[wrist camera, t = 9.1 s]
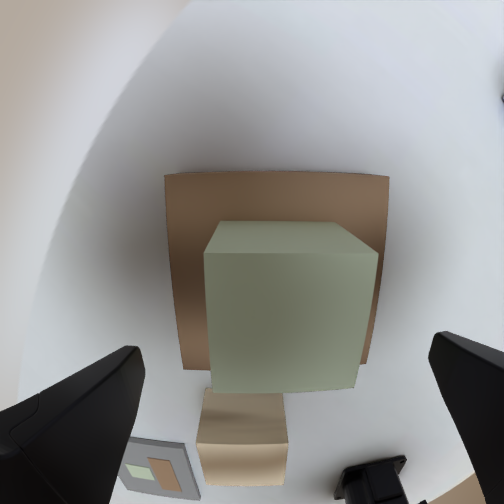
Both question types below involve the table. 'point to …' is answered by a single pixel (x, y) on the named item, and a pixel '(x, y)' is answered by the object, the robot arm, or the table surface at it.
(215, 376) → the sage cube
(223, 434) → the birch cube
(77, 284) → the table surface
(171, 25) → the table surface
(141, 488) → the slate card
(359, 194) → the walnut block
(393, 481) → the robot arm
